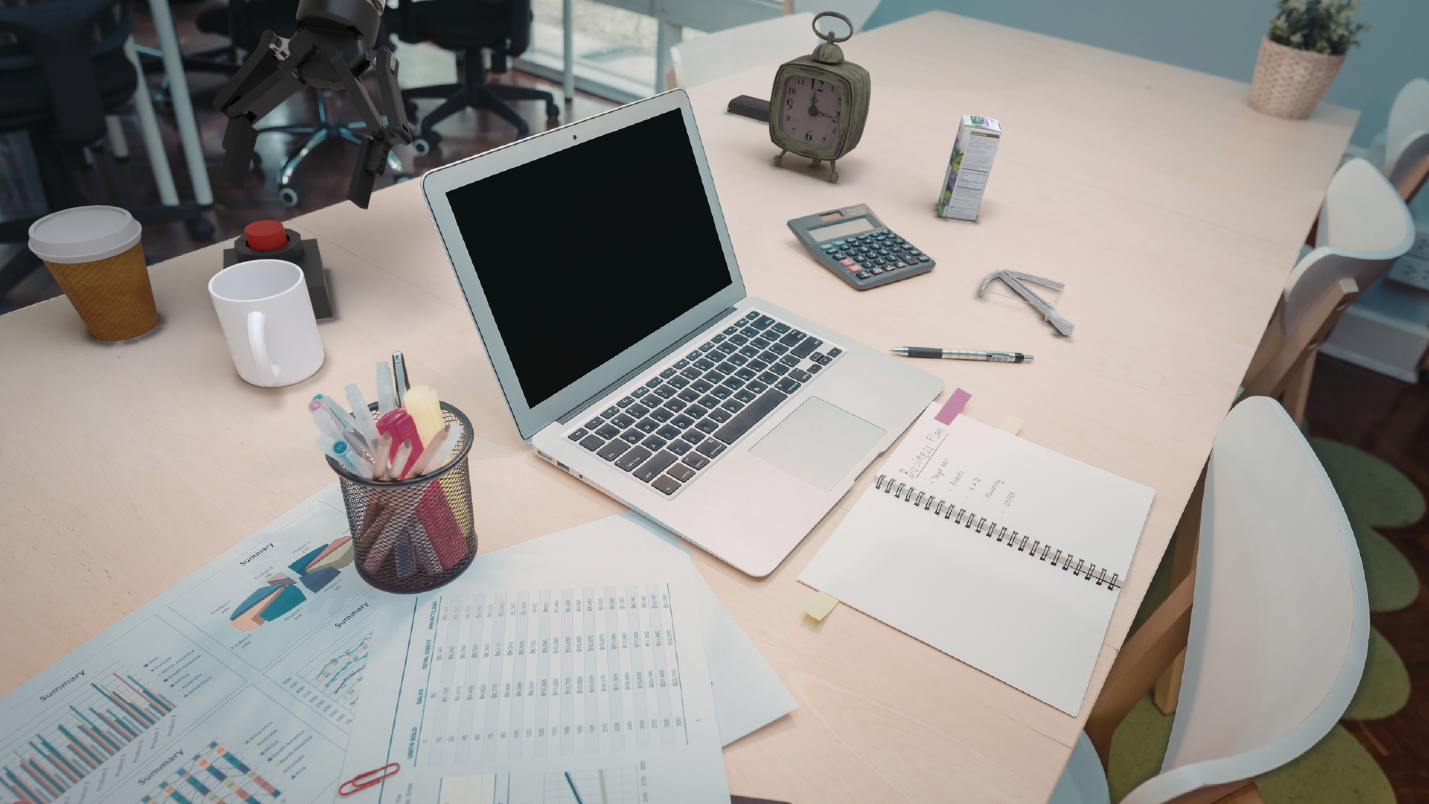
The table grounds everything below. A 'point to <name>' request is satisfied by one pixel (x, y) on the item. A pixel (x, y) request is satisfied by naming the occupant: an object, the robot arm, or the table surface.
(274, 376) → the mug
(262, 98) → the robot arm
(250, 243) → the button
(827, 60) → the tabletop clock
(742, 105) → the usb drive
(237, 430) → the table surface
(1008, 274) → the crossbow
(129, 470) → the table surface
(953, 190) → the syrup box
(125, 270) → the disposable coffee cup
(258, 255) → the red mushroom button box
